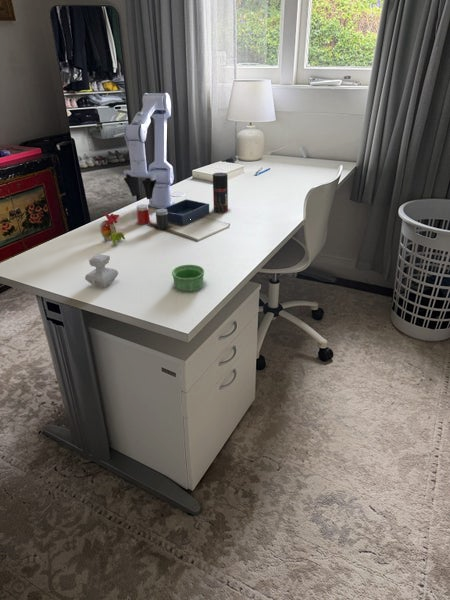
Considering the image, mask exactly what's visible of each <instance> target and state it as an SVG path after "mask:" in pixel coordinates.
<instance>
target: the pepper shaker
mask: <svg viewBox="0 0 450 600" xmlns="http://www.w3.org/2000/svg"><path fill="white" fill-rule="evenodd" d="M155 222H156V229H158V230H167V229H169V228H170V222H169V219H168V213H167V209H161V208H157V209H155Z"/></svg>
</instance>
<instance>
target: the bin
mask: <svg viewBox="0 0 450 600" xmlns="http://www.w3.org/2000/svg"><path fill="white" fill-rule="evenodd" d="M174 203H175V202H174ZM162 209H167V213H168V219H169V224H170V223H171V224H175V225H178V226H185V225H187V224H189V223H192V222H194V221H196V220H198V219H201V218H203V217H205V216H207V215H209V214H210V203H206V202H201V201H197V200H192V199H187V198H185V199H183V200H181V201H178V202H176V203H175V204H173V205H170V206H168V207H165V208H162ZM190 219H191V220H190Z"/></svg>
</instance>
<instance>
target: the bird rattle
mask: <svg viewBox="0 0 450 600" xmlns="http://www.w3.org/2000/svg"><path fill="white" fill-rule="evenodd" d="M104 216H105V218H106V219H105V220H103V221H101V224H100V226H99V227H100V229H99V231H100V234H101V236H102V237H103V240H104V242H112V244H113V246H115V245H116V242H121V240H126V238H125V234H124V233H123V232H122V231H121V232H117V227H116V225H115V224H118V218H119V217H120V215H119V214H114V213H111V214H109V213H107V212H104Z"/></svg>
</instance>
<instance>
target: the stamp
mask: <svg viewBox="0 0 450 600" xmlns="http://www.w3.org/2000/svg"><path fill="white" fill-rule="evenodd" d="M110 260H111V256H110V255H106V254H99V253H96V254H94V255H93V256H92V257H91V258H88V263H89V265H90V266H91V267H93V268H94V267H95V268H94V269H93V270H92V271H90V272H88V273H86V275H85V277H84V280H85V281H86V282H88V283H89V284H91V286H96V287H100V288H106V287H108V286H109V285H110V284H112V283H113V282H114V281H115V280H116V278H117V277H118V275H119V271H118V269H114V268H109V267H106V266H107V265H108V264H109V263H110Z"/></svg>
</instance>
